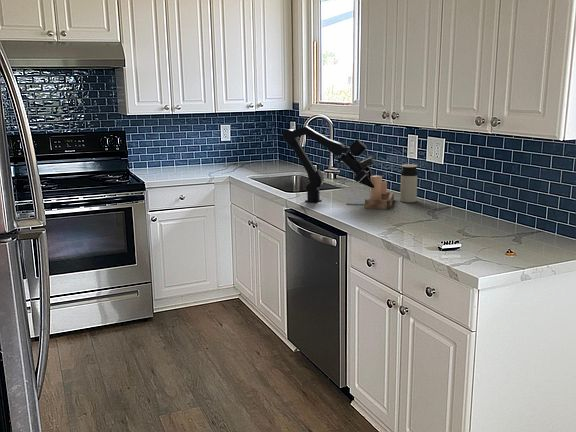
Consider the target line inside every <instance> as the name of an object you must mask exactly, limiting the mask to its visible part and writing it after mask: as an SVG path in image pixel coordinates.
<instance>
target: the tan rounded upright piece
mask: <svg viewBox="0 0 576 432" xmlns="http://www.w3.org/2000/svg"><path fill="white" fill-rule="evenodd" d="M371 182H372V183H373V185H374V186H375V187H374V188H371V187H369V188H370V190H369V199H373V200H382V194H387V192H388V181H383V176H382V175H377V174H376V175H372V176H371Z"/></svg>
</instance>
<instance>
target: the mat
mask: <svg viewBox="0 0 576 432" xmlns="http://www.w3.org/2000/svg"><path fill="white" fill-rule="evenodd" d="M346 206H365V199H349V200H348V201H347V203H346Z"/></svg>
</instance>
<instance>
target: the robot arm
mask: <svg viewBox="0 0 576 432" xmlns="http://www.w3.org/2000/svg"><path fill="white" fill-rule="evenodd" d="M302 136H306V137H308V138H309V139H311V140H313V141H315V142H317V143H318V144H320V145H322V146H324V147H325V148H326V149H327V150H328V151H329V152H330V153H331V154H333V155H334V156H337V164H340V163H341V162H342V163H343V164H344V166H346V167H347V168H348V169H349V171H351V172H352V173H353V174H354V181H355V182H356V183H359V184H361V185H364V186H366V187H369V188H370V187H371V188H374V187H375V186H374V185H373V183H372V182H371V176H373V174H372V168H371V167H370V166H371V165H374V164H375V162H374V158H373V157H372V156H369V155H368V156H366V157H364V159H363V160H362V161H361V160H360V159H357V157H360V156H361V155H362V154H363V153H364V152H365V151H366V150H367V149H368V147H367V145H366V144H365V143H364V142H362V141H361V140H359V139H358V138H356V139H355V140H354V142H353V143H352V144H351V145H345V144H344V143H342V142H339V141H336V140H334V139H330V138H328V137H327V136H324V134H321V133H320V132H318V131H315V130H314V129H312V128H311V127H310V126H307V125H306V126H302V127H300V128H297V129H293V128H289V129H286V130H284V131H283V133H282V138H283V141H284V142H285V143H286V144H287V145H288V146H289V147H290V148H292V150H293V152H294V153H295V154H296V157H297V158H298V160H299V161H300V164H301V165H302V166H303V168H304V169H305V171H306V173H307V177H308V181H309V183H308V184H307V185H306V186H305V188H306V194H307V197H306V198H307V199H305V200H304V202H306V203H307V202H308V203H313V204H315V203H319V202H322V201H323V199H321V198H320V197H321V195H320V192H321V191H320V188H321V186H322V185H323V184H324V181H325V178H324V176H325V175H324V174H323V172H322V170H321V169H320V168H319V169H316V167H314V165H313V163H312V161H311V160H310V158H309V157H308V155H307V153H306V151H305V150H304V148H303V146H302V145H301V143H300V138H299V137H302ZM338 156H339V157H338Z"/></svg>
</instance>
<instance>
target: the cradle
mask: <svg viewBox="0 0 576 432" xmlns="http://www.w3.org/2000/svg"><path fill="white" fill-rule="evenodd" d="M394 196H395V191H387V194H382V200H373V199H370V198H369V199H367V198H365V199H364V200H365V205H364V209H379V210H380V209H381V210H384V209H385V210H390V209H391V207H392V204H393V202H394V199H395V197H394Z"/></svg>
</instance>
